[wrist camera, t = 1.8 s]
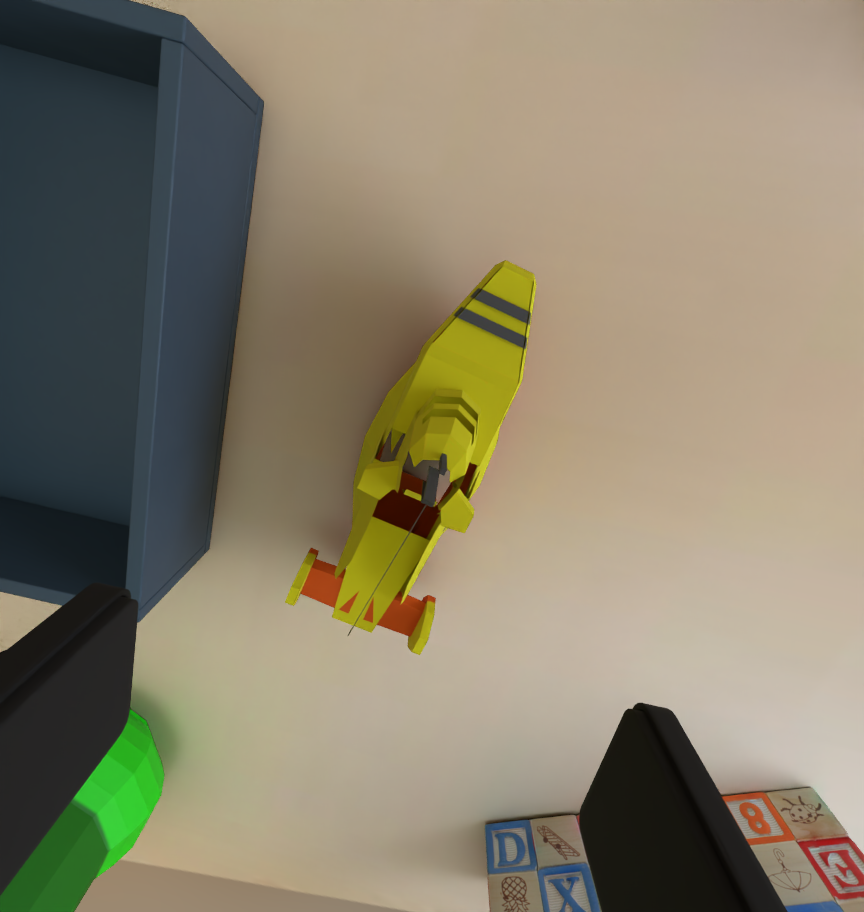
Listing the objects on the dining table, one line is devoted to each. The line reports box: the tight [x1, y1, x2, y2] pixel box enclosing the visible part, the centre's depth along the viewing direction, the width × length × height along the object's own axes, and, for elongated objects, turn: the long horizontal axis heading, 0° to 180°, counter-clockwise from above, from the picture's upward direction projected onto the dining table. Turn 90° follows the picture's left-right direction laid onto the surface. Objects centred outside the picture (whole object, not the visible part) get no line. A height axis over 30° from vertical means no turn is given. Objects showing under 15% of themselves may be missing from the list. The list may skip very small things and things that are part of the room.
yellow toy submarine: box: [285, 260, 536, 655], centre depth 20 cm, size 6×18×10 cm, turn 156°
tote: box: [0, 0, 264, 622], centre depth 21 cm, size 22×15×7 cm
